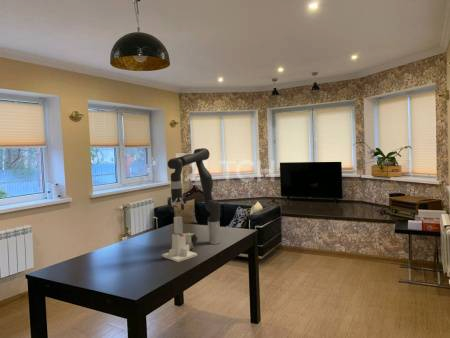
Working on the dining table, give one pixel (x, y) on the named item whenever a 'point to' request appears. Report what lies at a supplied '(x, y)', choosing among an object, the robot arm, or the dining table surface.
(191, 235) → the pneumatic valve
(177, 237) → the stand base
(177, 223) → the column
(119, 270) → the dining table surface
